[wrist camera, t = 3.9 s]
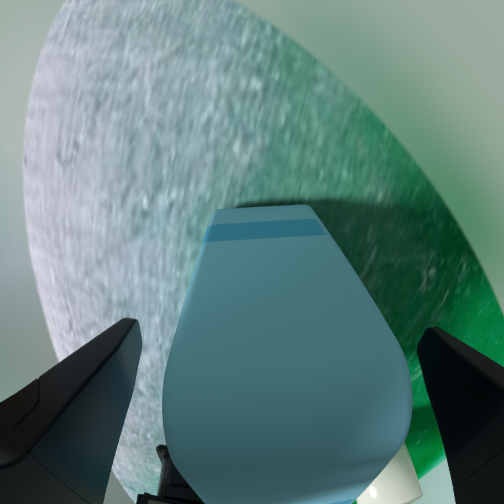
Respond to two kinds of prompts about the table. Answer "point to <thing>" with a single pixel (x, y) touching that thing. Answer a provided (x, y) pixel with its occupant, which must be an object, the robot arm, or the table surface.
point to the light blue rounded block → (281, 367)
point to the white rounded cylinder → (394, 483)
